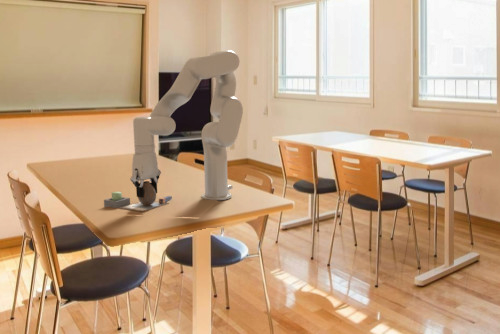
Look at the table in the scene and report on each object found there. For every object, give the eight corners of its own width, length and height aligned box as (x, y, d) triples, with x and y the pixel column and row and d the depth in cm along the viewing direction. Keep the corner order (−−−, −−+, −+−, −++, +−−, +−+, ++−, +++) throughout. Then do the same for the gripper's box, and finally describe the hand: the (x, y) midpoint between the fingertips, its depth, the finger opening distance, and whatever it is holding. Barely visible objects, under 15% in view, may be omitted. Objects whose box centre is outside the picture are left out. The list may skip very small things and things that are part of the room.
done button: (117, 200, 199) (116, 191, 199) (124, 201, 197) (123, 192, 197) (110, 202, 196) (109, 193, 196) (117, 203, 194) (116, 194, 194)
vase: (139, 206, 190) (137, 184, 189) (137, 202, 197) (136, 180, 195) (157, 205, 192) (156, 182, 190) (155, 201, 198) (154, 179, 197)
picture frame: (146, 201, 205) (145, 199, 204) (168, 204, 198) (168, 202, 198) (119, 209, 192) (119, 207, 192) (142, 213, 186) (142, 211, 186)
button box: (117, 203, 202) (117, 196, 201) (130, 205, 198) (129, 198, 198) (104, 207, 196) (103, 199, 195) (117, 209, 192) (116, 201, 192)
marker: (168, 199, 207) (168, 195, 207) (171, 199, 207) (172, 195, 207) (158, 203, 197) (159, 198, 197) (163, 203, 197) (163, 199, 197)
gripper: (152, 146, 200) (154, 189, 203) (120, 151, 185) (123, 198, 188) (167, 147, 196) (169, 191, 199) (136, 153, 181) (138, 201, 184)
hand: (147, 194), depth 194 cm, fingers closed on vase, 6 cm apart
